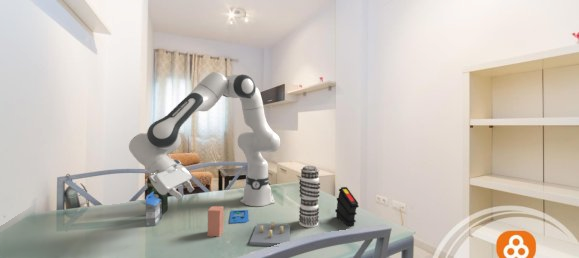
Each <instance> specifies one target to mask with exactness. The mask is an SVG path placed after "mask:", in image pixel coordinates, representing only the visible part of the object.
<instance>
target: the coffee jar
mask: <svg viewBox="0 0 579 258" xmlns="http://www.w3.org/2000/svg"><path fill="white" fill-rule="evenodd" d="M146 185H147V186H146V187H147V196H148V195H149V194H150V193H152V192H153V191H154V193H153V197H155V198H158V199H161V200H162V215H163V214H165V212H167V211H168V209H169V200H168V199H169V197H168V196H169V195H168V194H169V193H167V194H165V195H161V194H159V193H158V191H157V190H156V189H155V188H154V186H153V185H152V183H151V180H150V179H149V176H148V177H147V179H146ZM150 197H151V196H149V198H150ZM149 198H148V199H149Z"/></svg>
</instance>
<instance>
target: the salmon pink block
mask: <svg viewBox="0 0 579 258" xmlns="http://www.w3.org/2000/svg"><path fill="white" fill-rule="evenodd" d="M221 233H222V234H223V233H224V206H215V205H214V206H210V208H209V209H208V210H207V237H213V236H216V237H218V238H219V236H220V237H221V235H222V234H221Z"/></svg>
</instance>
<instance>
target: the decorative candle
mask: <svg viewBox="0 0 579 258" xmlns="http://www.w3.org/2000/svg"><path fill="white" fill-rule="evenodd" d="M300 171H301V173H300V174H301V176H300V178H299V182H298V184H299V190H298V192H299V193H300V194H299V198H300V203H299V204H300V205H299V212H298V213H299V215H298V216H299V218H298V220H299V222H298V223H299V225H300V226H301V227H305V228H316V227H318V226H319V221H320V220H319V218H320V216H319V213H320V211H319V210H320V208H319V202H318V201H319V198H320V191H319V189H321V187H320V185H321V183H320V177H319V171H320V169H318V167H317V166H313V165H305V166H303V167H302V169H300Z"/></svg>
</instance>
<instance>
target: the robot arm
mask: <svg viewBox="0 0 579 258" xmlns="http://www.w3.org/2000/svg"><path fill="white" fill-rule="evenodd" d="M222 96H223V97H225V98H232V99H237V98H238V99H239V100H240V102H241V108H242V115H243V120H244V123H245V124H246V126H247V127H249V128H250V129H251V130H252V131H250V130H249V131H243V132H241V133H240V134H239V135H238V138H237V146H238V147H239V148H240V150H242V152H243V154H244V155H245V158H246V162H247V163H246V164H247V177H246V185H245V186H244V187H243V197H242V198H241V199H240V203H242V204H245V205H246V206H250V207H263V206H264V207H265V206H268V205H270V204H275V199H274V195H273V193H272V188H271V186H270V184H269V183H270V177H269V162H268V161H267V160H266V159H265V158H264V157H263V155H262V153H273V152H275V153H276V152H277V151H278V150H279V148H280V146H281V139H280V136H279V134H278V133H275V132H274V130H273V129H272V128H271V127H270V125H269V124H268V122H267V118H266V114H265V113H266V112H265V110H264V102H263V99H262V95H261V92H260V89H259V88H258V87H257V86H256V85H255V82H254V80H253V78H252V77H250V76H249V75H247V74H232V75H231V74H230V75H225V74H223V73H221V72H218V71H212V72H210V73H209V74H208V75H206V76H205V77H204V78H203V79H201V80H200V81H199V83H198V84H196V86H195V87H194V88H193V89H192V91H191V92H190V93H189V94H188V95H187V96H186V97H184V99H182V100H181V102H179V103H178V104H177V105H176V106H175V107H174V108H173V109H172V110H171V111H170V112H169V113H168V114H167V115H165V116H163V117H162V118H160V119H158V120H156V121H154V122H153V123H151V124H150V126H149V127H148V129H147V132H145V133H144V132H141V133H139V134H136V135H135V136H134V137H133V138H132V139H131V140H130V142H129V144H128V149H129V151H130V153H131V154H132V156H133V157H134V159H136V161H137V162H138V163H140V164H141V165H142V166H144V168H145V169H146V172H148V173H149V174H148V177H149V179H150V180H151V183H152V185H153V186H154V188H155V189H156V190H157V191H158V193H159V194H161V195H165V194H169V195H170V196H172V197H175V198H176V199H177V200H178V201H180V200H182V198H183V197H184V194H183V193H182V192H179V191H178V190H177V189H178V188H179V187H182V186H184V187H186V189H187V191H188V193H192V192H193V191H194V190H195V188H194V187H193V186H192V182H191V180H192V179H193V176H192V174H191V173H190V172H189V171H188V169H187V168H186V167H185V166H184V165H182V162H181V160H179V159H175V158H172V157H169V154H171V153H173V152H175V151H176V150H177V149H179V148H180V147H181V145H182V143H183V142H182V140H183V139H182V136H181V133H180V129H181V127H182V126H183V125H184V124H185V123H186V122H187V121H188V120H189V118H191V116H192V115H194V114H195V113H196V112H208V111H210V110H211V109H212V108H213V107H214V106H215V105H216V104H217V103H218V101H219V100H220V99H221V97H222Z"/></svg>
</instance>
